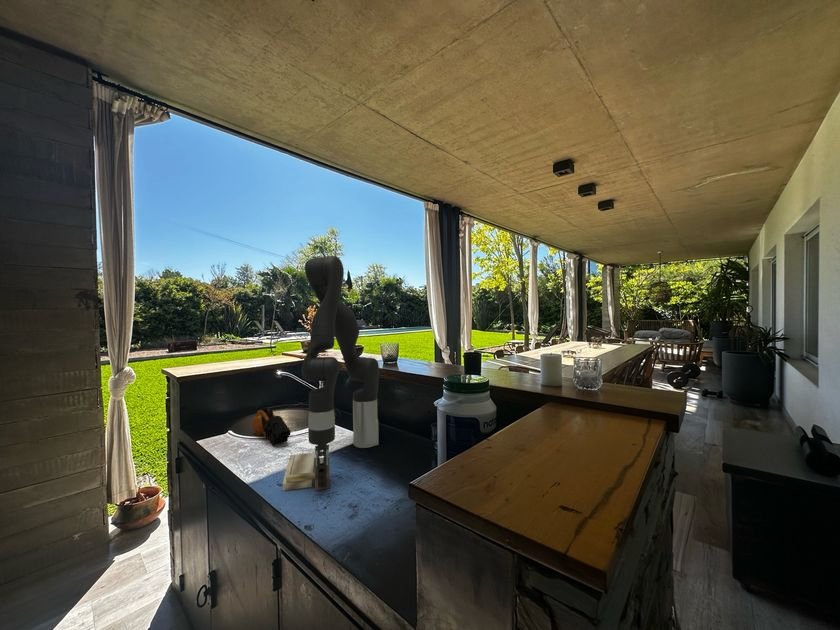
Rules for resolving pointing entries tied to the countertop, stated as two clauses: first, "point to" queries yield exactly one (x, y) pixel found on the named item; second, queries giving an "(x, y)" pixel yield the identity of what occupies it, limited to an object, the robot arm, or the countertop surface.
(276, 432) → the tool
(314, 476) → the gauge
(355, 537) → the countertop surface
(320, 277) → the robot arm
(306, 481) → the board
